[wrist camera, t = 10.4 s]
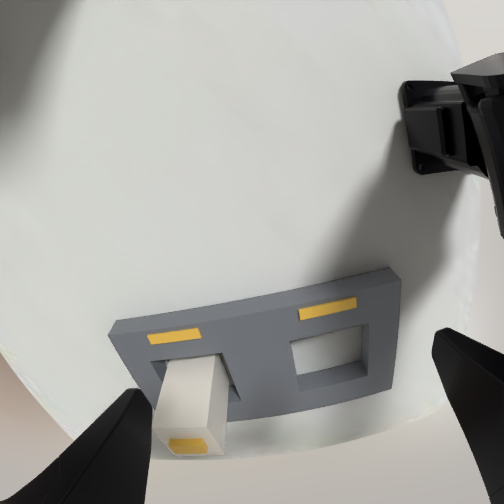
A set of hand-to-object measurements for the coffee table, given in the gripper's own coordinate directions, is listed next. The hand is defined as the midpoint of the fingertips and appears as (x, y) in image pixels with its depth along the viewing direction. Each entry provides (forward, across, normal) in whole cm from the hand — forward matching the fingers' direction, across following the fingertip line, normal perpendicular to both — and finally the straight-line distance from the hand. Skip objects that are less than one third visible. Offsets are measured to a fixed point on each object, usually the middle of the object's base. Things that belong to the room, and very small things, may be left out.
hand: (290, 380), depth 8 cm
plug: (+13, +8, +11) cm, 19 cm away
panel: (+13, +2, +11) cm, 17 cm away
